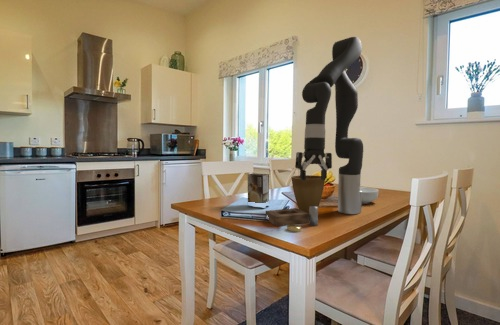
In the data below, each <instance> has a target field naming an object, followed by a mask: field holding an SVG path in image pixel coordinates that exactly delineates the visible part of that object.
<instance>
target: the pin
mask: <svg viewBox="0 0 500 325" xmlns="http://www.w3.org/2000/svg"><path fill="white" fill-rule="evenodd" d="M318 221H319V207H318V206H309V223H308V225H309V226H311V227H316V226H318V225H319V222H318Z"/></svg>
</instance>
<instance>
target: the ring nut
mask: <svg viewBox="0 0 500 325" xmlns="http://www.w3.org/2000/svg"><path fill="white" fill-rule="evenodd" d="M286 227H287V229H286V230H287V231H288V232H291V233H300V232H302V228H303V227H302V226H301V225H299V224H292V225H286Z"/></svg>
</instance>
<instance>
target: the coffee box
mask: <svg viewBox="0 0 500 325" xmlns="http://www.w3.org/2000/svg"><path fill="white" fill-rule="evenodd" d="M268 201H269V202H270V174H268V173H267V174H266V173H256V172H254V173H253V172H252V173H249V174H247V203H248V202H255V203H266V202H268Z"/></svg>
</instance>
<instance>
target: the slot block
mask: <svg viewBox="0 0 500 325" xmlns="http://www.w3.org/2000/svg"><path fill="white" fill-rule="evenodd" d="M266 214H267V215H268V217H269V221H268V222H269V223H270V224H272V225H274V226H275V227H282V226H288V225H299V224H309V213H306V212H304V211H302V210H299V208H297V207H294V208H283V209H282V208H281V209H274V210H273V209H271V210H265V215H266Z"/></svg>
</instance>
